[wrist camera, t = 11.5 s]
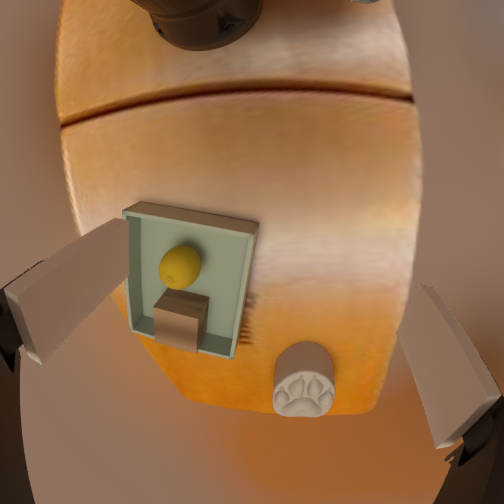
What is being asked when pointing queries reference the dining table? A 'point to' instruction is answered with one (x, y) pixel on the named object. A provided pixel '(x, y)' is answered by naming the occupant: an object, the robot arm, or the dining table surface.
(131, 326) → the box
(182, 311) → the walnut block
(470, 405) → the robot arm
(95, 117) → the dining table surface
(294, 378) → the lumpy-topped squat cylinder
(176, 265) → the lemon
